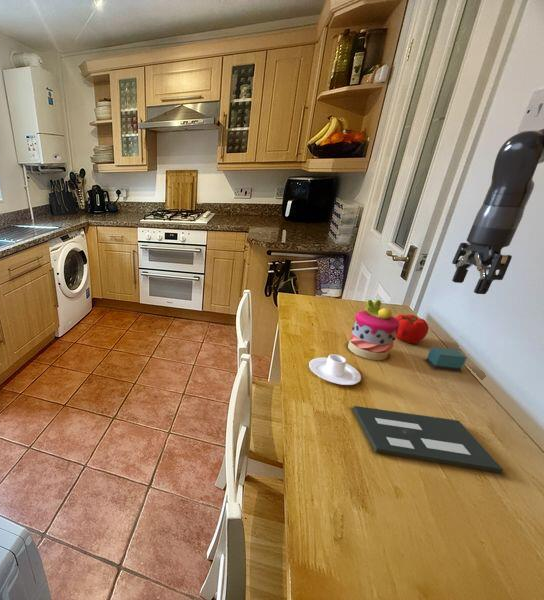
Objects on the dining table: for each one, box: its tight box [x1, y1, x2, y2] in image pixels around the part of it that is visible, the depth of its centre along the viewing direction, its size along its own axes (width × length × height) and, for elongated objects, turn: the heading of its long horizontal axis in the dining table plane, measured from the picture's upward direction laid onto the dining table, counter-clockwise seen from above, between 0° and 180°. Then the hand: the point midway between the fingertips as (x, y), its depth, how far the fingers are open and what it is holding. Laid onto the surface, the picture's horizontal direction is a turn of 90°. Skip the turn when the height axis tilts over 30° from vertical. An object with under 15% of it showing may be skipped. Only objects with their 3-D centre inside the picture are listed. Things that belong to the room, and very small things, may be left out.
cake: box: [347, 299, 400, 361], centre depth 91 cm, size 10×11×15 cm
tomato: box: [394, 313, 429, 344], centre depth 99 cm, size 9×9×8 cm
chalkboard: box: [352, 405, 504, 474], centre depth 64 cm, size 20×12×1 cm, turn 77°
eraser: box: [425, 346, 467, 372], centre depth 86 cm, size 6×4×4 cm, turn 77°
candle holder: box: [308, 353, 362, 386], centre depth 83 cm, size 12×12×4 cm
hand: (467, 287), depth 83 cm, fingers open, 8 cm apart
